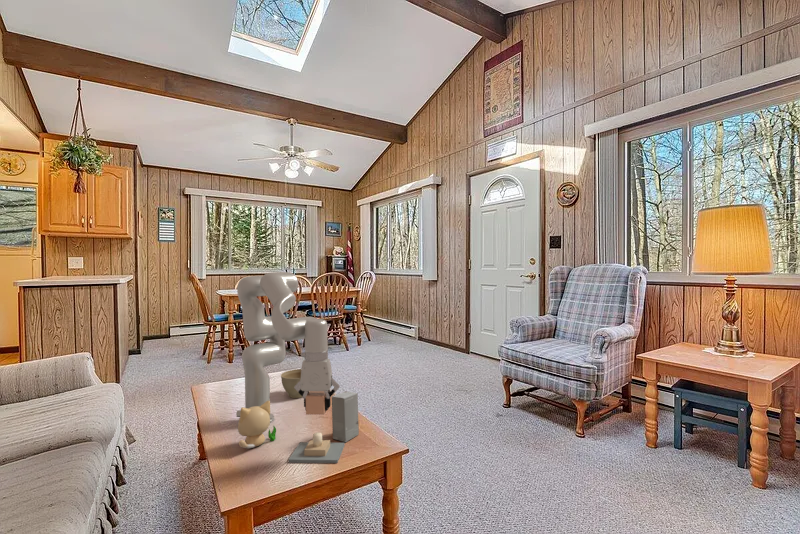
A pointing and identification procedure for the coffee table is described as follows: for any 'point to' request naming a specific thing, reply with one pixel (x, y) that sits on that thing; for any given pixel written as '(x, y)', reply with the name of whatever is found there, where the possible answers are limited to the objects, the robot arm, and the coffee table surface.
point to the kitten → (255, 425)
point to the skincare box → (345, 416)
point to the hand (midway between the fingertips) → (317, 408)
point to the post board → (317, 459)
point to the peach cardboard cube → (315, 403)
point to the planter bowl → (291, 382)
